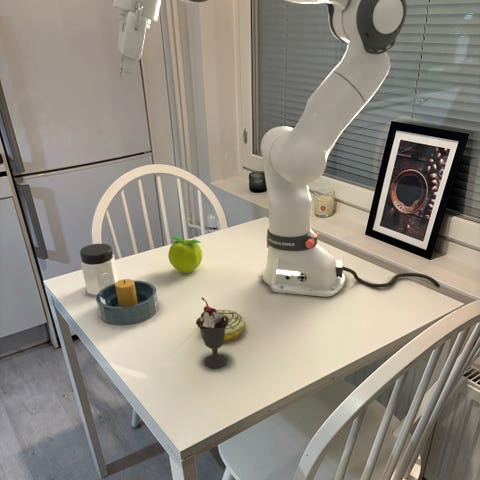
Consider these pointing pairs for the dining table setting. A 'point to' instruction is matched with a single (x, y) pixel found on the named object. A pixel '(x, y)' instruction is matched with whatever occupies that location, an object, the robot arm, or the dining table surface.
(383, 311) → the dining table surface
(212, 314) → the sundae
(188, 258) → the fruit
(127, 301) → the candle
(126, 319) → the bowl
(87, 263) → the jar
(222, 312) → the decorated donut
